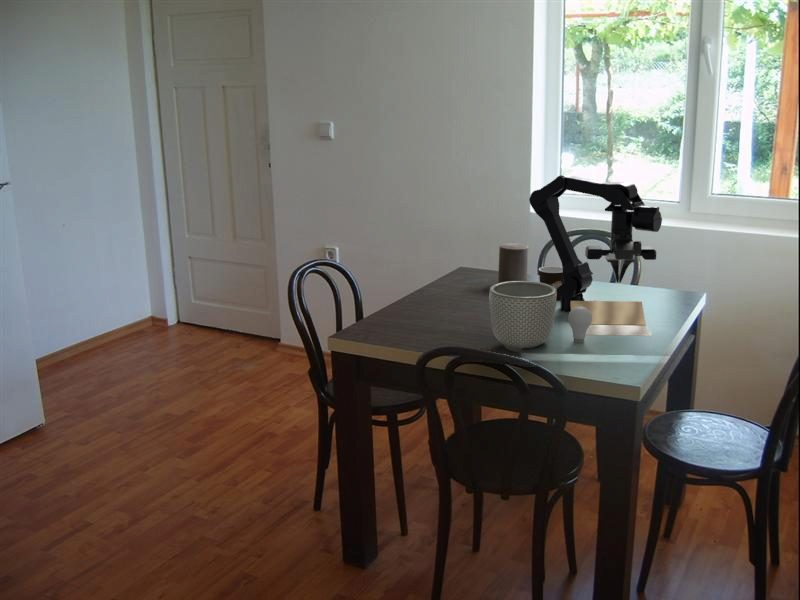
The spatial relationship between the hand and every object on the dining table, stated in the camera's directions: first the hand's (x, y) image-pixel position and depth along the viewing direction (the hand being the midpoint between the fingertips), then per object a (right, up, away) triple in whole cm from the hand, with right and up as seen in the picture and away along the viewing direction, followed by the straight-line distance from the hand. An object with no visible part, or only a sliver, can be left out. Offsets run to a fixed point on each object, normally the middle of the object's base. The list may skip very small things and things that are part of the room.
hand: (618, 282), depth 233 cm
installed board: (-4, -15, -7) cm, 17 cm away
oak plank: (-3, -10, +1) cm, 10 cm away
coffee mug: (-13, -5, +27) cm, 30 cm away
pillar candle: (-24, 0, +45) cm, 51 cm away
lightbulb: (-15, -18, -16) cm, 28 cm away
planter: (-30, -18, -16) cm, 38 cm away
